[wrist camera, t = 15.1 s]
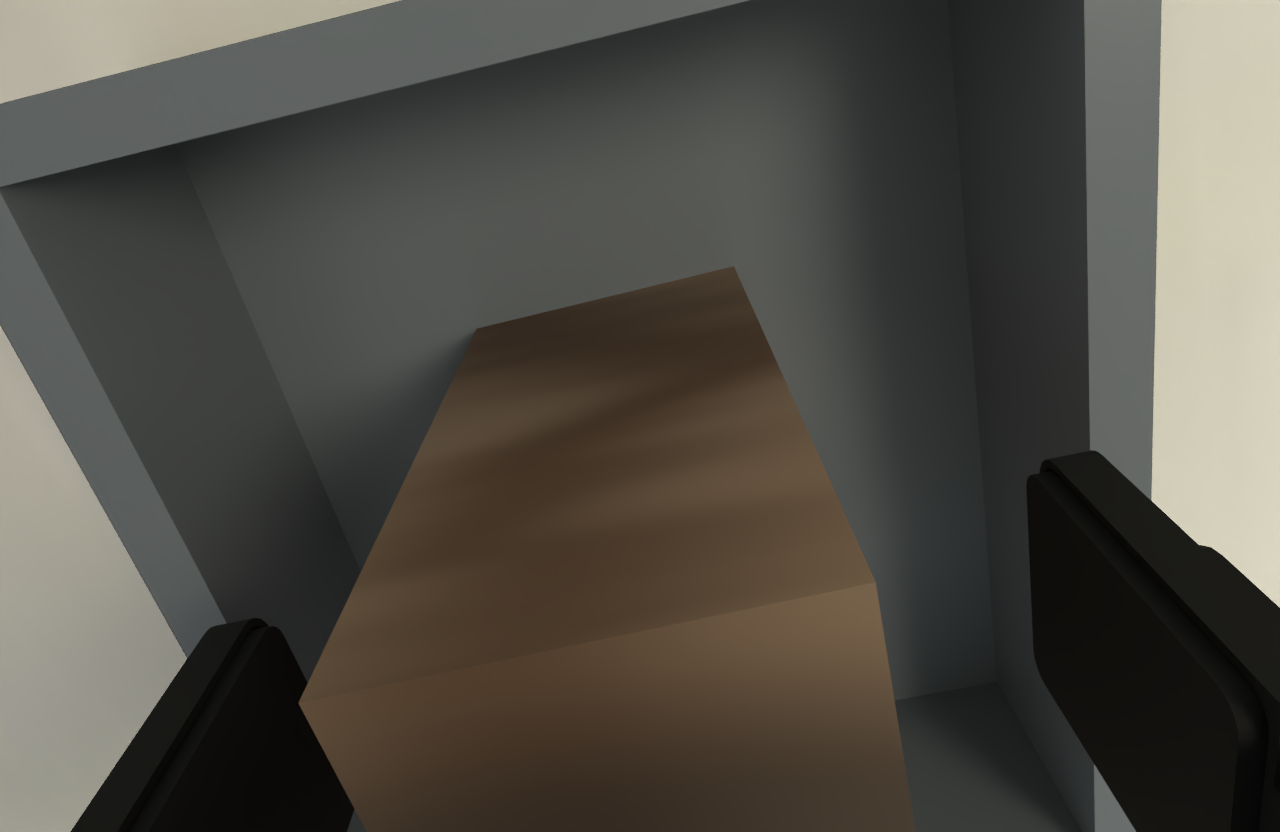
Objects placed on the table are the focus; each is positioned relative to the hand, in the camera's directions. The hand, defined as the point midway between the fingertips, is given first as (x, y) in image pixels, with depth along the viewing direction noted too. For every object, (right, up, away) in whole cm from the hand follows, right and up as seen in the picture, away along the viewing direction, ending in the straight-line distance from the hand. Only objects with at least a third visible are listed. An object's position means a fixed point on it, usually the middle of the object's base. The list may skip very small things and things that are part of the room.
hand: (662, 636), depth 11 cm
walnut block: (0, +2, +5) cm, 6 cm away
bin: (0, +2, +6) cm, 6 cm away
